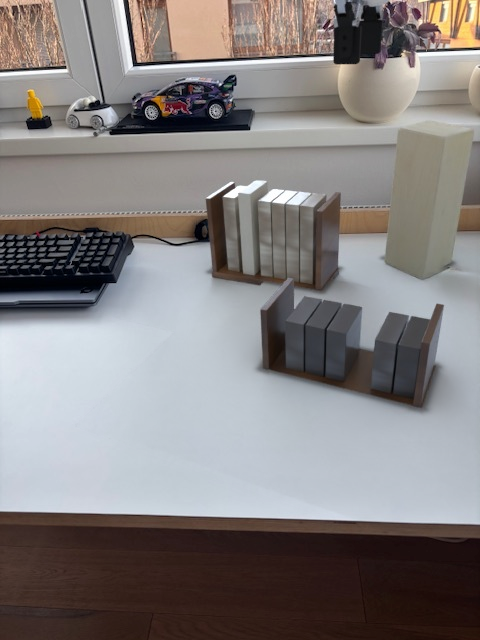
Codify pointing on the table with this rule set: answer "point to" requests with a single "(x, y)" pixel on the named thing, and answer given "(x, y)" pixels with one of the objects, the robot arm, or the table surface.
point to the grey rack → (349, 347)
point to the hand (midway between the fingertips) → (358, 58)
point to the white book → (250, 225)
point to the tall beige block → (427, 196)
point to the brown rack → (277, 237)
